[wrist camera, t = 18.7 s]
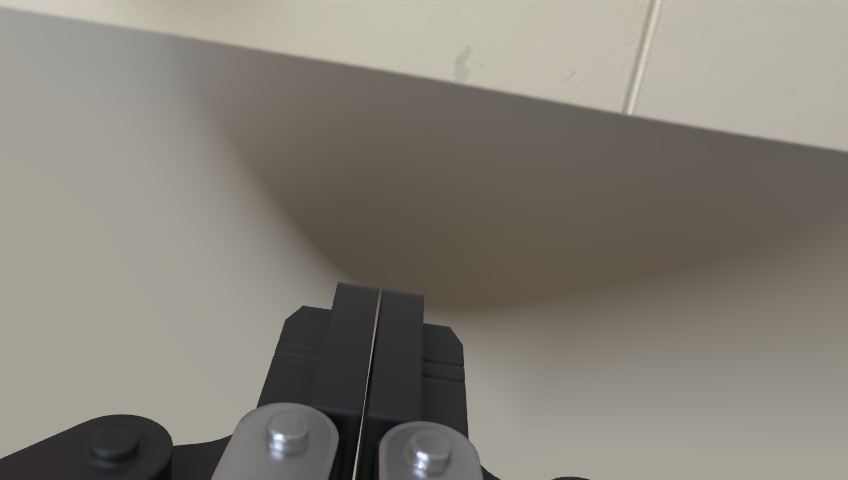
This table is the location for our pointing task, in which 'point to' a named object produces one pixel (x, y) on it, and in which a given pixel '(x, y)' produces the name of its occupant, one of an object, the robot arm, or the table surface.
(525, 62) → the table surface
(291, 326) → the robot arm
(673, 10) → the table surface
